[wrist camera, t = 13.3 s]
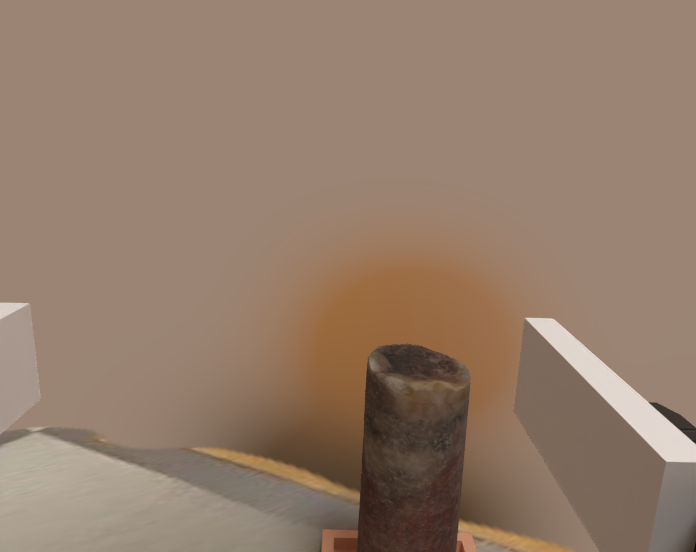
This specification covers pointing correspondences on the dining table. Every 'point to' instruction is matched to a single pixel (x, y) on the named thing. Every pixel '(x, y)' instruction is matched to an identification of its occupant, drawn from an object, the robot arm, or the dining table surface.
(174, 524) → the dining table surface
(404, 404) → the candle
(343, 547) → the dish
